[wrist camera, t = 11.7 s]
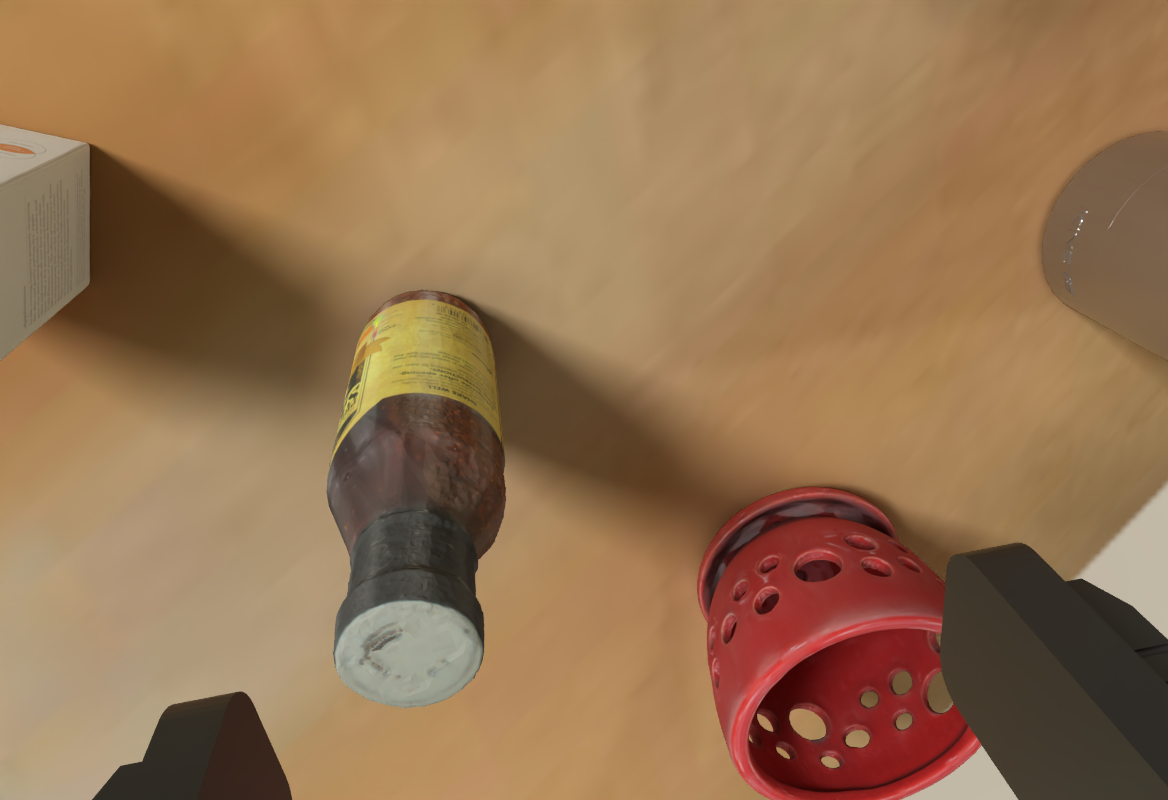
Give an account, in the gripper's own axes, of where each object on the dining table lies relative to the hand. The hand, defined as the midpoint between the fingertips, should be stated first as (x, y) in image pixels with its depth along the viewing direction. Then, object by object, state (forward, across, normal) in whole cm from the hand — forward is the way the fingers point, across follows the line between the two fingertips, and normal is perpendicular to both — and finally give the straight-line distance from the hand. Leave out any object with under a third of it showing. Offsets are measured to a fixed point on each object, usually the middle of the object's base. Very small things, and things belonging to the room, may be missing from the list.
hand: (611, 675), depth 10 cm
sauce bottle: (+30, +5, +8) cm, 32 cm away
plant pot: (+30, -12, +25) cm, 41 cm away
